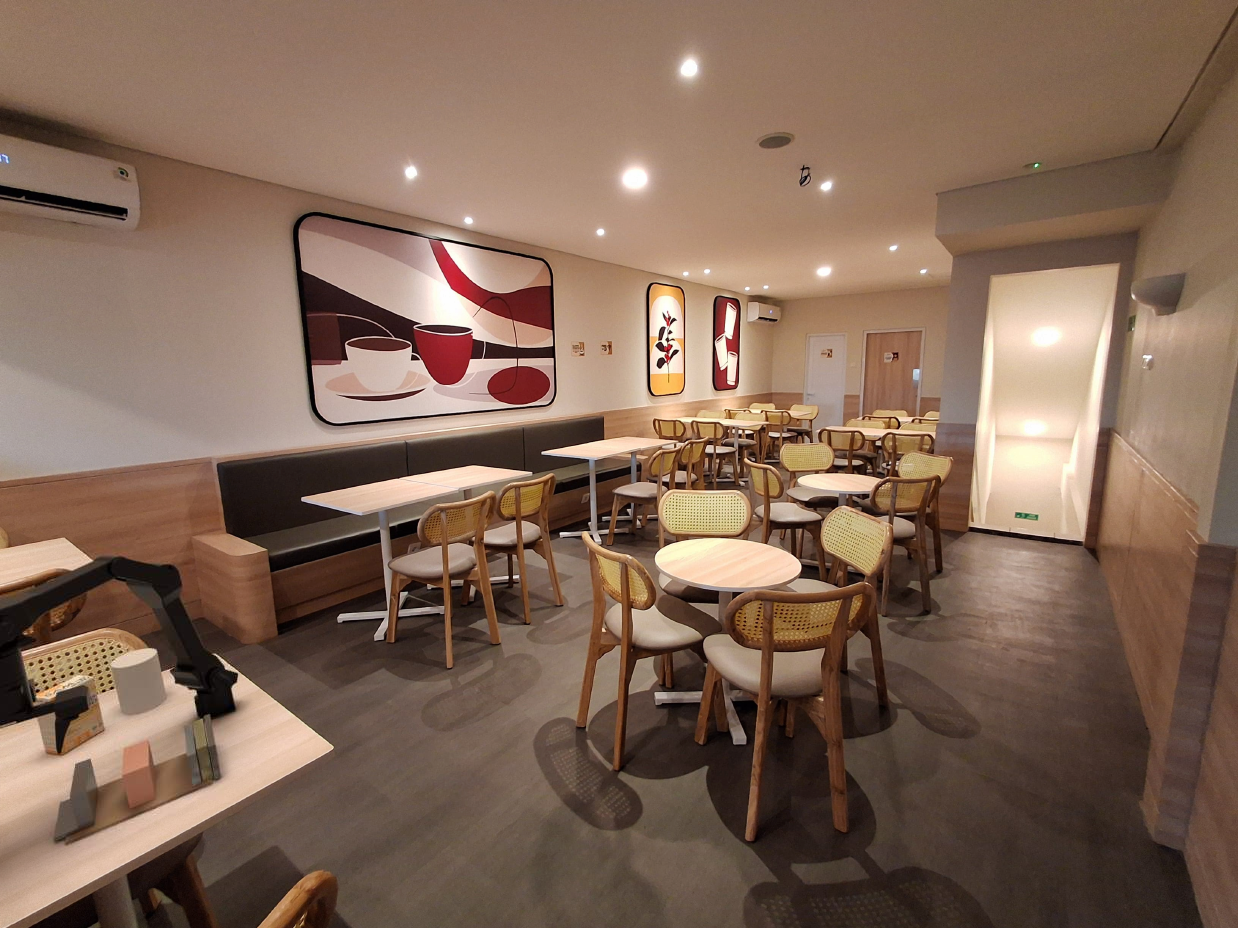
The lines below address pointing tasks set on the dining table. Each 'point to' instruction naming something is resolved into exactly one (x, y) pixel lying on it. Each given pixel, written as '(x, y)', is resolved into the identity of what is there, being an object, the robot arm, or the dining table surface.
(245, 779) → the dining table surface
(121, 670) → the cup
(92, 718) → the supplement box
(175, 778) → the shelf
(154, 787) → the terracotta rectangular block
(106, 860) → the dining table surface
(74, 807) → the bookend
